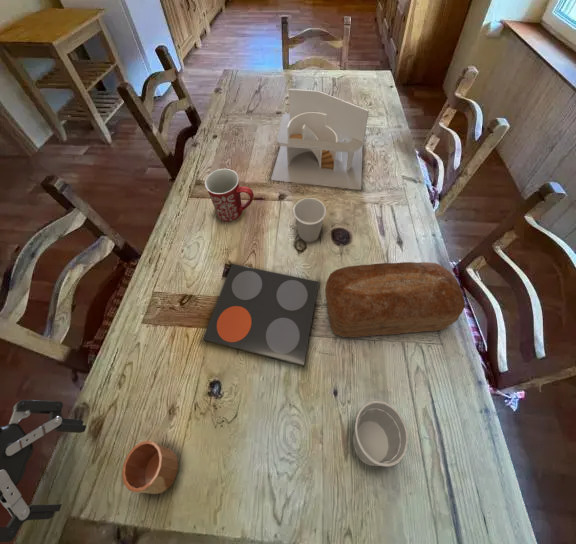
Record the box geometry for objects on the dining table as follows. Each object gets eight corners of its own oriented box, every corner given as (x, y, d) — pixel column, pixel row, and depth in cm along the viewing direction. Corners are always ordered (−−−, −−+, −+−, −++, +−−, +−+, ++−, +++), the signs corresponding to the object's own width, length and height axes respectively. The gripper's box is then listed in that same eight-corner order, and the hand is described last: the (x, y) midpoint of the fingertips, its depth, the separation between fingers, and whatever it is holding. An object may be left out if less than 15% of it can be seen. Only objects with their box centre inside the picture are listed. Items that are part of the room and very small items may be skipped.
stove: (303, 367, 70) (303, 364, 69) (204, 341, 74) (202, 338, 73) (318, 284, 82) (318, 281, 81) (232, 266, 86) (231, 263, 85)
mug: (208, 221, 96) (198, 190, 87) (221, 197, 103) (213, 165, 93) (250, 230, 94) (244, 199, 84) (261, 205, 100) (256, 174, 91)
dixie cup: (315, 215, 97) (316, 193, 90) (330, 238, 91) (332, 216, 84) (288, 226, 94) (287, 204, 87) (302, 250, 89) (302, 228, 82)
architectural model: (270, 179, 107) (264, 120, 91) (283, 136, 122) (280, 79, 106) (361, 189, 103) (372, 129, 87) (362, 143, 118) (372, 85, 102)
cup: (338, 441, 61) (344, 430, 53) (366, 404, 65) (376, 388, 57) (375, 486, 57) (387, 482, 48) (402, 443, 61) (418, 433, 52)
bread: (320, 290, 81) (323, 259, 71) (436, 281, 82) (455, 249, 72) (328, 344, 73) (332, 318, 63) (457, 334, 73) (482, 306, 63)
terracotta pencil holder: (168, 498, 57) (149, 497, 50) (137, 487, 58) (114, 484, 51) (183, 453, 61) (168, 446, 54) (154, 444, 62) (135, 436, 55)
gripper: (-109, 551, 35) (59, 539, 43) (-23, 387, 45) (100, 402, 53) (-116, 549, 39) (40, 538, 47) (-35, 398, 49) (81, 410, 57)
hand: (72, 465), depth 50 cm, fingers open, 8 cm apart
